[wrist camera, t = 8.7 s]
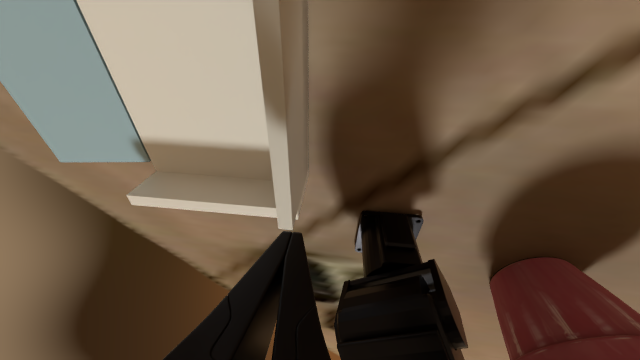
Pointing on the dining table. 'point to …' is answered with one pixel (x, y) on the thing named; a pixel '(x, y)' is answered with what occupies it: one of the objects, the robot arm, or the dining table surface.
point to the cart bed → (213, 99)
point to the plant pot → (561, 314)
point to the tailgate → (65, 83)
